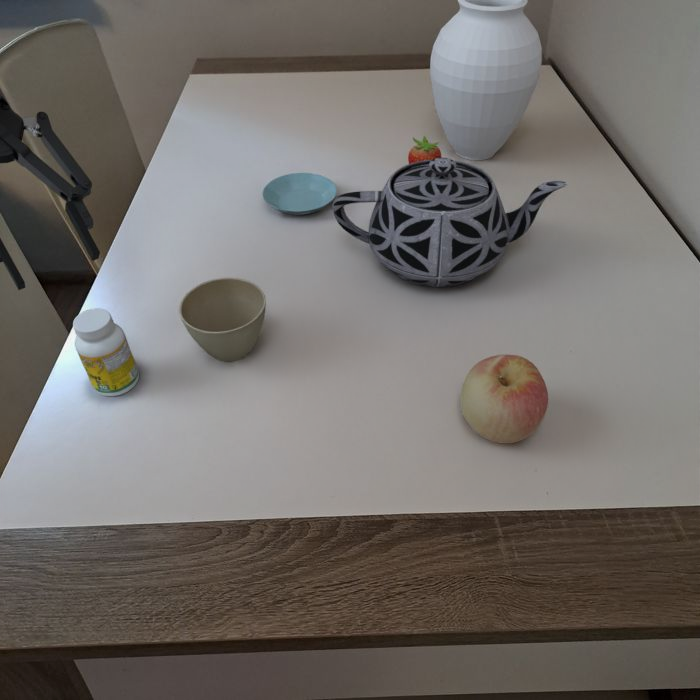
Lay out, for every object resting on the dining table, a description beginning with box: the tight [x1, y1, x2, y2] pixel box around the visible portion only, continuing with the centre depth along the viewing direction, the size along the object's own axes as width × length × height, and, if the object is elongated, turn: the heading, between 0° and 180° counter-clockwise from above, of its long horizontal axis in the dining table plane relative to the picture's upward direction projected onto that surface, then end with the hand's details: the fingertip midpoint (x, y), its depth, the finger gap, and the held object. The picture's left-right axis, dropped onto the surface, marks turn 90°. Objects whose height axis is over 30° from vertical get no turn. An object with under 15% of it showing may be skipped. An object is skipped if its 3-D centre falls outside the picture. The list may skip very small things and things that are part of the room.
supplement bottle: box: [72, 307, 140, 397], centre depth 73 cm, size 5×5×10 cm
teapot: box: [332, 157, 569, 288], centre depth 87 cm, size 19×31×15 cm, turn 89°
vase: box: [429, 0, 543, 161], centre depth 107 cm, size 18×18×25 cm
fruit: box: [407, 135, 442, 164], centre depth 105 cm, size 5×5×8 cm
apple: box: [460, 354, 549, 444], centre depth 67 cm, size 9×9×8 cm
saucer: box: [262, 172, 338, 215], centre depth 103 cm, size 12×12×2 cm
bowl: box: [178, 276, 267, 362], centre depth 77 cm, size 10×10×7 cm
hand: (59, 270), depth 72 cm, fingers open, 8 cm apart
